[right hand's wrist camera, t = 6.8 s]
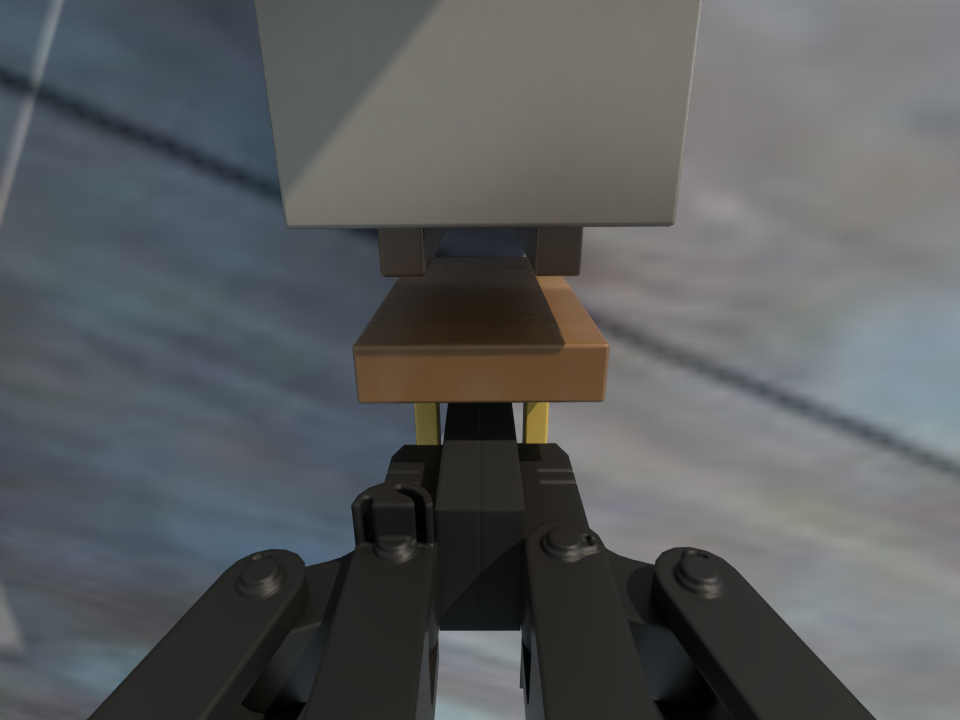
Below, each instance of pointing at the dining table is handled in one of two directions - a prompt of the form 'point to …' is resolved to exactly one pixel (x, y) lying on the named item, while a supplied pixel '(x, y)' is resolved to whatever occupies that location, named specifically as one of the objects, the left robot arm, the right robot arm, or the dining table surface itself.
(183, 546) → the dining table surface
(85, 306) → the dining table surface
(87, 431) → the dining table surface
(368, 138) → the cabinet
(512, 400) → the drawer
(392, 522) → the right robot arm
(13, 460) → the dining table surface
